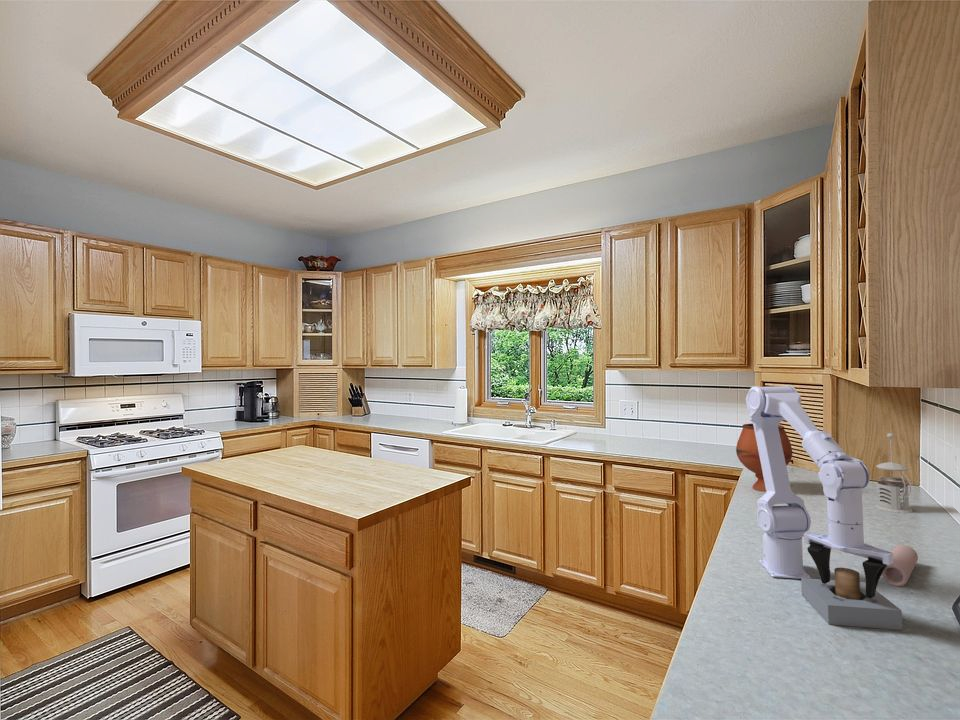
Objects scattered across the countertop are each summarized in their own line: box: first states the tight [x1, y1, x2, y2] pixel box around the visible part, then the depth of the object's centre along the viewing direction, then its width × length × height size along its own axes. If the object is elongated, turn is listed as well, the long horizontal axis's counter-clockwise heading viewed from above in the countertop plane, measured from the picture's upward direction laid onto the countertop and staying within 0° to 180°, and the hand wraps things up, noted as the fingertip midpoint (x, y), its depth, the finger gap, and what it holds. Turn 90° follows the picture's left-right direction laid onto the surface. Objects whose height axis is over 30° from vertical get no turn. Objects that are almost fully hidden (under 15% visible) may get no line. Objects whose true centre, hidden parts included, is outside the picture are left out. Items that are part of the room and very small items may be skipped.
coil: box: [881, 544, 919, 587], centre depth 113 cm, size 5×5×18 cm
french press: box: [875, 432, 913, 514], centre depth 161 cm, size 10×12×25 cm
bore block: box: [800, 578, 903, 631], centre depth 97 cm, size 12×12×4 cm
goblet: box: [735, 423, 793, 492], centre depth 190 cm, size 19×19×25 cm
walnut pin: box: [834, 567, 861, 600], centre depth 97 cm, size 4×4×7 cm
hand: (847, 588), depth 97 cm, fingers open, 7 cm apart
